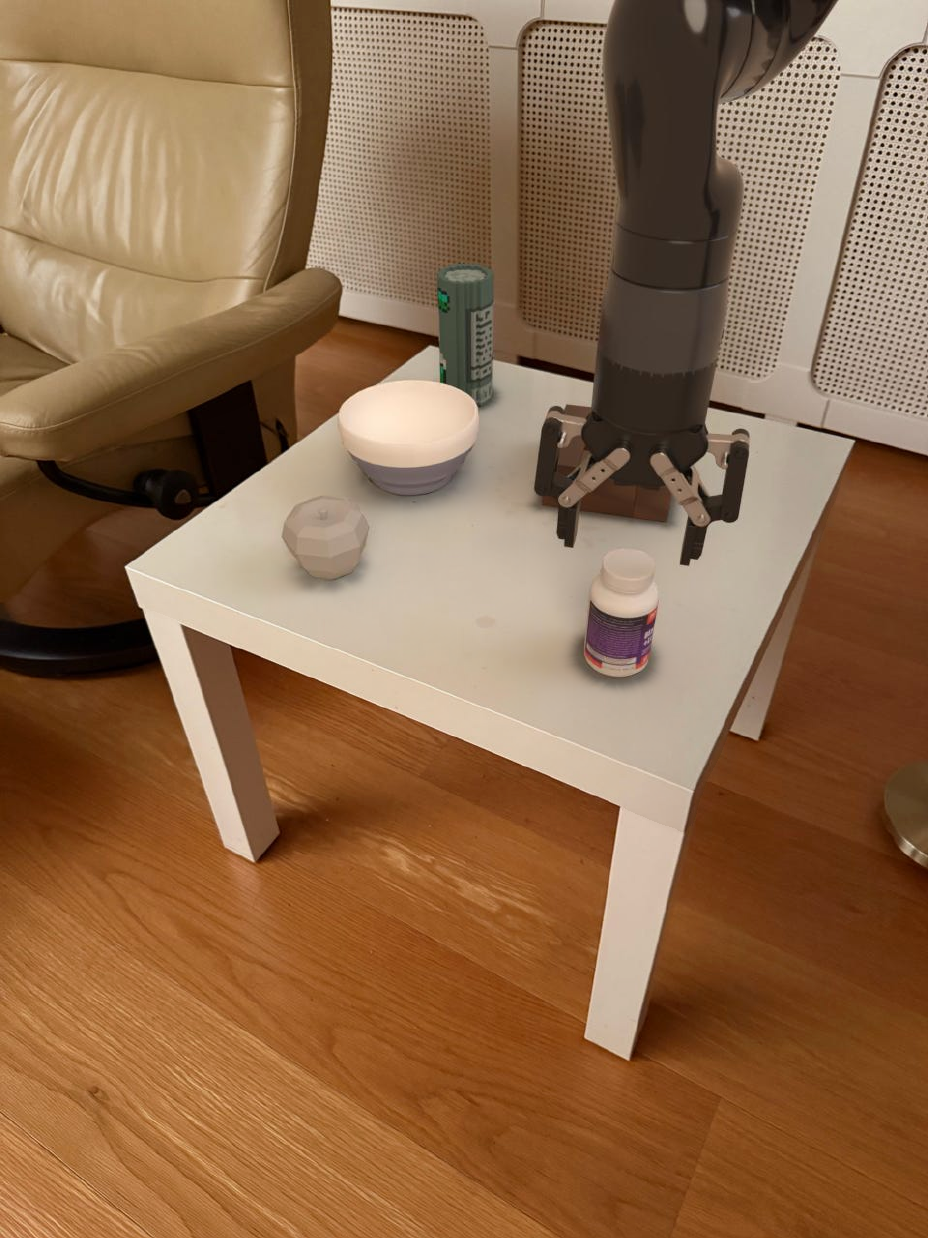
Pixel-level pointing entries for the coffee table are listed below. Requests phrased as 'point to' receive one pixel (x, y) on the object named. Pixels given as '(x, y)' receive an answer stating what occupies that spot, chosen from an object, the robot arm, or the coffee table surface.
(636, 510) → the socket pad
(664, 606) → the coffee table surface
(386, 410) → the bowl
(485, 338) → the can
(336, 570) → the apple
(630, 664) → the pill bottle
